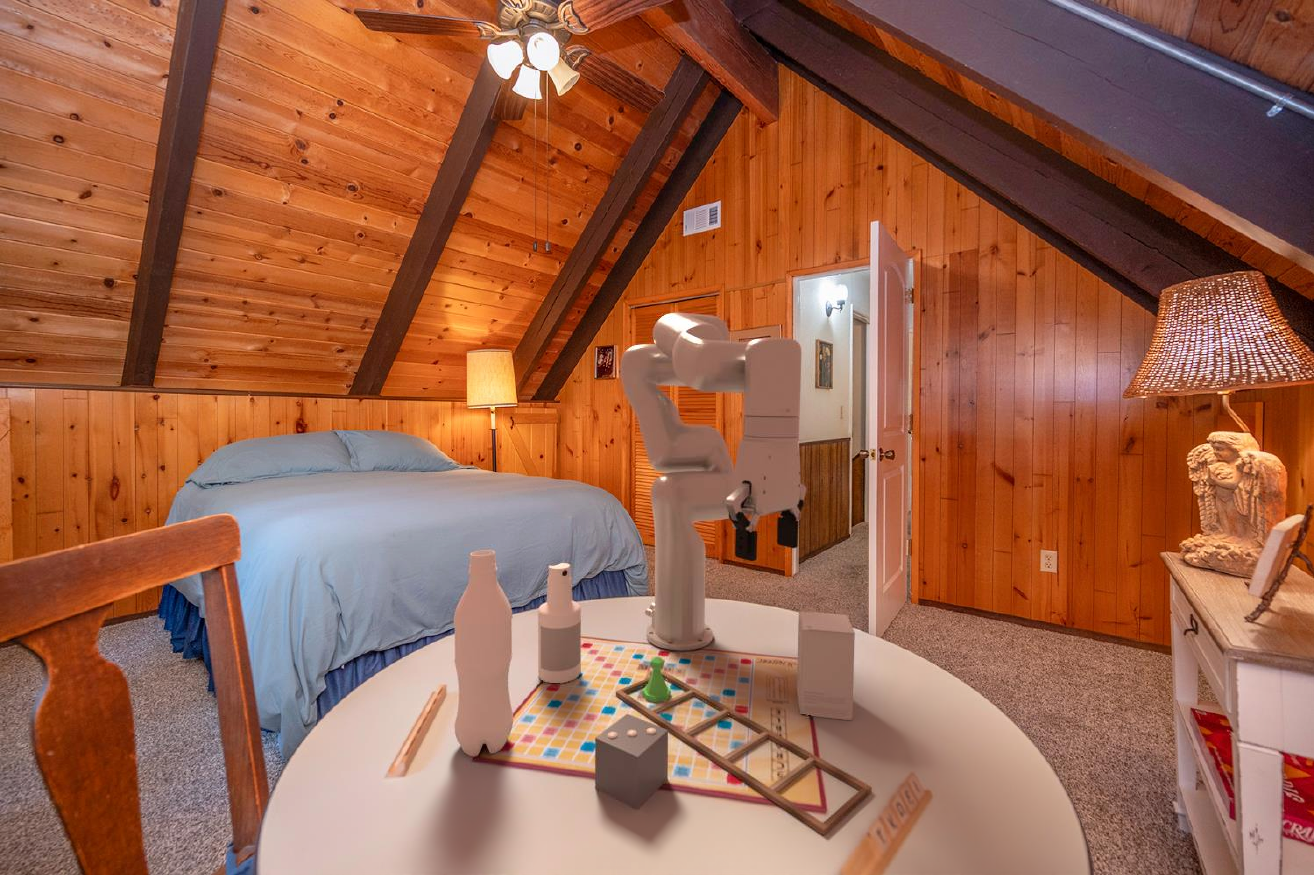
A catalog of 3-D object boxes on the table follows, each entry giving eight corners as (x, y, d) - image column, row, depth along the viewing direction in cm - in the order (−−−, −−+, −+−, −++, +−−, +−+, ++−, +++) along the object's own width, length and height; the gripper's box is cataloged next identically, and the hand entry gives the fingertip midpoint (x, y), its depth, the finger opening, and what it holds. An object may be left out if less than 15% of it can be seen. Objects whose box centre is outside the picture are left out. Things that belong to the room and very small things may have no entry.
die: (595, 788, 62) (595, 736, 62) (626, 760, 67) (627, 712, 67) (637, 810, 59) (637, 755, 58) (667, 779, 64) (668, 728, 63)
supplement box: (853, 722, 76) (856, 633, 75) (798, 715, 77) (800, 628, 77) (846, 694, 83) (848, 613, 82) (796, 689, 84) (797, 609, 84)
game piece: (643, 687, 85) (643, 649, 84) (670, 687, 85) (671, 650, 84) (641, 702, 80) (641, 662, 80) (670, 702, 80) (671, 663, 80)
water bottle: (524, 734, 72) (523, 548, 71) (491, 767, 65) (489, 563, 64) (479, 723, 75) (477, 544, 73) (442, 754, 68) (439, 557, 67)
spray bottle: (551, 689, 84) (551, 574, 83) (530, 673, 89) (530, 564, 88) (588, 675, 88) (588, 566, 87) (566, 660, 93) (566, 557, 93)
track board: (615, 695, 82) (615, 691, 82) (664, 675, 89) (664, 671, 89) (823, 835, 55) (823, 830, 55) (871, 792, 62) (871, 786, 62)
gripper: (783, 427, 83) (780, 537, 84) (708, 430, 71) (705, 558, 72) (828, 429, 78) (824, 547, 79) (754, 433, 66) (751, 571, 67)
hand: (767, 552), depth 76 cm, fingers open, 9 cm apart
